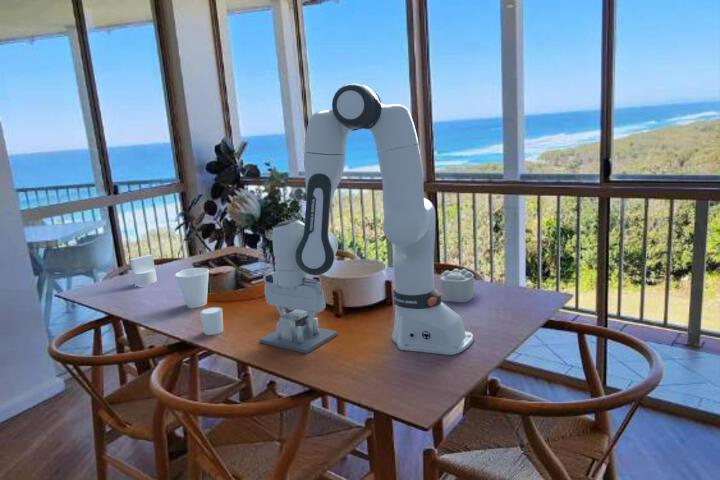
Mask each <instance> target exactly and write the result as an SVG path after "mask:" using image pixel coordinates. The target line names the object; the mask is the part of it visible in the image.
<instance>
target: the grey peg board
mask: <svg viewBox="0 0 720 480" xmlns="http://www.w3.org/2000/svg"><path fill="white" fill-rule="evenodd" d="M318 319H319V318H318V317H314V318H313V322H314V323H313V332H311V333H309V334H308V335H306V336H304V337H303V333H302V326H297V327H296V331H297V341H295V342H294V343H290V342H286V341H282V336H281V328H280V321H278V322H276V323H275V324H276V330H274V331H272V332H271V333H268V334H266V335H264V336H263V337H261V338H259V339H258V340H259V343H261V344H265V345H268V346H269V345H270V346H273V347H278V348H282V349H287V350H291V351H294V352H297V353H298V352H299V353H303V354H307V355H308V354H309V353H310V352H312V351H314V350H315V349H317V348H318V347H321V346H322V345H324V344H325V343H327V342H328V341H330V340H332V339H333V338H335V337H337V336H338V335H339V333H338V331H337V330H331V329H327V328H321V327H319V320H318Z"/></svg>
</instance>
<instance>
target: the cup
mask: <svg viewBox="0 0 720 480" xmlns="http://www.w3.org/2000/svg"><path fill="white" fill-rule="evenodd" d="M209 274H210V269H209V268H207V267H193V268H186V269H182V270H181V271H178V272H176V273H175V274H174V276H175V279H176V281H177V283H178V286H179V288H180V291H181V294H182V296H183V298H184V301H185V303H186V307H187V308H189V309H196V308H197V309H198V308H202V307H204V306H206V305H207V303H208V291H209V289H208V288H209V276H210V275H209Z"/></svg>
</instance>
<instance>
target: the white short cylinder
mask: <svg viewBox="0 0 720 480" xmlns="http://www.w3.org/2000/svg"><path fill="white" fill-rule="evenodd" d="M199 316H200V320H201V324H202V328H203V332H204V334H205V335H206V336H212V335H218V334H221V333H222V332H223V331H224V318H223V317H224V315H223V308H222V307H219V306H212V307H210V306H209V307H207V308H204V309H201V310H200V311H199Z"/></svg>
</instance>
